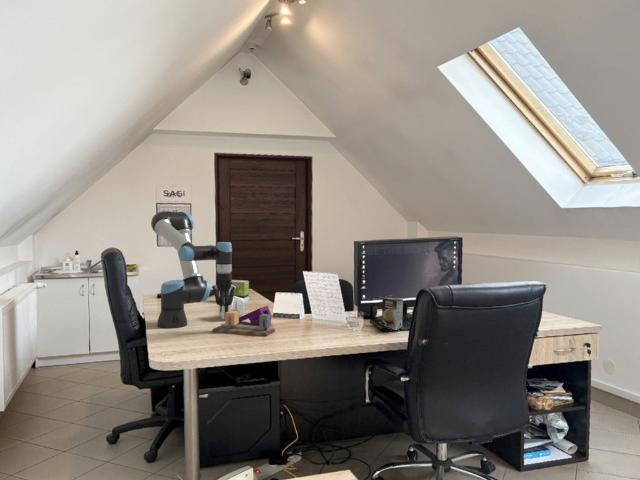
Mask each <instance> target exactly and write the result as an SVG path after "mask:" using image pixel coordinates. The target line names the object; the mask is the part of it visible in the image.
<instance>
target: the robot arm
mask: <svg viewBox="0 0 640 480" xmlns="http://www.w3.org/2000/svg"><path fill="white" fill-rule="evenodd" d="M194 223H195V222H194V219H193V216H192V215H191V214H190V213H188V212H187V211H180V210H179V211H173V210H172V211H167V210H163V211H159V212H157V213H155V214H154V215H153V217H152V218H151V223H150V225H151V228H152V231H153V232H154V233H155V234H157V235H158V236H161V237H162V238H163V239H164V240H166V241H167V243H169V244H170V245H171V246H172V247H173V248H174V249H175V250H176V252H177V255H178V256H177V257H178V260H179V264H180V268H181V272H182V276H183V278H182V279H175V280H167V281H165V282H163V283H162V284H161V285H160V286H161V287H160V313H159V316H158V319H157V323H156V325H157V327H158V328H163V329H165V328H166V329H174V328H175V329H177V328H183V327H186V326H187V325H188V319H187V315H186V313H185V305H187V304H195V303H201V302H206V301H207V300H208V299H209V296H210V294H211V288H212V290H213V295H214V299H215V303H216V305H218V306H219V305H220V312H222V318H221V320H225V313H226V312H228V306H229V305H231V304H232V301H233V296H234V292H235V290H236V288H237V287H236V286H233V285H232V280H233V279H232V278H233V277H232V276H233V275H232V272H233V267H232V266H233V264H232V261H233V260H232V259H233V256H232V255H233V247H232V243H231V242H230V241H229V242H228V241H220V242H219V241H218V242H217V243H216V245H213V244H209V245H194V244H193V243H192V240H191V236H190V235H191V234H192V231H193V228H194ZM198 261H199V262H200V261H202V262H203V261H216V272H217V273H216V284H214V285H212V286H211V285H210V282H208V280H206V279H204V276H203V275H202V274H201V273H200V271H199V268H198V264H197V262H198ZM230 288H231V291H230V295H229V289H230Z"/></svg>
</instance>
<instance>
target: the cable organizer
mask: <svg viewBox="0 0 640 480" xmlns="http://www.w3.org/2000/svg"><path fill="white" fill-rule="evenodd" d="M245 308H246V303H245V300H244V299H243V298H239V297H236V296H233V301H232V304H231V305H229V306H228V312H229V311H237V312H239V317H241V316H244V315H246V311H245V310H246V309H245ZM218 315H219V317H220V318H221V319H222V312H220V305H218Z"/></svg>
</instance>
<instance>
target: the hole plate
mask: <svg viewBox="0 0 640 480" xmlns="http://www.w3.org/2000/svg"><path fill="white" fill-rule="evenodd" d="M211 330H212V333H220V334H221V333H222V334H232V335H243V336H244V335H245V336H259V337H268V336H270V335H271V334H274V333H275V332H276V328H274V327H273V328H271V327H269V330H267V331H265V330H264V331H261V330H253V329H240V328H227V327H221V325H219V326H217V327H214V328H212V329H211Z"/></svg>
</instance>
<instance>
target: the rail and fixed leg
mask: <svg viewBox="0 0 640 480" xmlns="http://www.w3.org/2000/svg"><path fill="white" fill-rule="evenodd" d="M271 320H272V313H271V314H262V315H260V320H259V326H253V325H252V324H250V325H249V324H239V323H238V324H236V325H231V328H240V329H253V330H261V331H264V330H265V331H267V330H269V328H271V326H272V321H271ZM220 326H221V327H227V328H228V325H225V323H224V322H223V323H221V324H220Z"/></svg>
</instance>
